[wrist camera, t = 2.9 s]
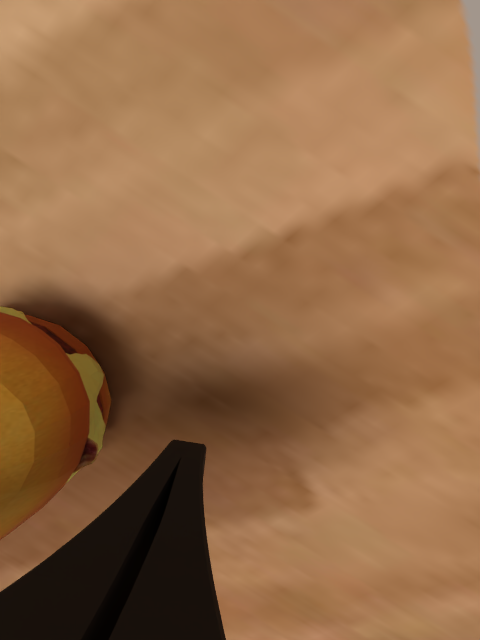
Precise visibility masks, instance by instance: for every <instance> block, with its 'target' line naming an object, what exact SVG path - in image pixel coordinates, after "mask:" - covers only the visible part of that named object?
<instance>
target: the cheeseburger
mask: <svg viewBox="0 0 480 640" xmlns="http://www.w3.org/2000/svg"><path fill="white" fill-rule="evenodd" d="M110 405H111V397H110V393H109V389H108V385H107V381H106V377H105V373H104V371H103V370H102V368H101V367H100V365H99V364H98V362H97V361H96V359H95V358H94V356H93V355H92V353H91V352H90V350H89V349H88V347H87V346H86V345H85V344H83V343H82V342H81V341H79V340H78V339H77V338H75V337H74V336H73V335H71V334H70V333H69V332H68V331H66V330H65V329H64V328H62V327H61V326H60V325H57V324H54V323H51V322H48V321H45V320H42V319H38V318H35V317H32V316H29V315H24V313H23V312H22V311H16V310H14V309H13V308H7V307H1V306H0V540H1V539H2V538H4V537H5V536H6V535H8V534H9V533H10V532H12V531H13V530H14V529H15V528H17V527H18V526H19V525H21V524H22V523H23V522H24V521H26V520H27V519H28V518H30V517H31V516H32V515H34V514H35V513H36V512H37V511H39V510H40V509H41V508H43V507H44V506H45V505H46V504H47V503H48V502H49V501H50V500H51V499H52V498H53V496H54V495H55V494H56V493H57V492H58V491H59V490H60V489H61V488H62V487H63V486H64V485H65V484H66V483H67V482H68V481H69V480H70V479H71V478H72V477H73V476H74V475H75V474H76V473H77V472H78V471H79V470H80V469H81V468H83V467H84V466H87V465H89V464H92V463H93V462H94V461H95V459H96V457H97V455H98V453H99V451H100V450H101V449H102V440H103V435H104V432H105V428H106V425H107V420H108V415H109V410H110Z"/></svg>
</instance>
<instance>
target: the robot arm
mask: <svg viewBox="0 0 480 640" xmlns="http://www.w3.org/2000/svg"><path fill="white" fill-rule="evenodd" d="M205 455H206V446H205V445H204V444H198V443H192V442H186V441H179V440H172V441H171V442H170V443H169V444H168V446H167V447H166V448H165V449H164V450H163V452H162V453H161V454H160V455H159V456H158V457H157V459H156V460H155V461H154V462H153V463H152V464H151V465H150V466H149V468H148V469H147V470H146V471H145V472H144V473H143V474H142V475H141V476H140V477H139V478H138V479H137V480H136V481H135V482H134V483H133V484H132V485H131V486H130V487H129V488H128V489H127V490H126V491H125V492H124V493H123V494H122V495H121V496H120V497H119V498H118V499H117V500H116V501H115V502H114V503H113V504H112V505H111V506H109V507H108V508H107V509H106V510H105V511H104V512H103V513H102V514H101V515H100V516H98V517H97V518H96V519H95V520H94V521H93V522H92V523H90V524H89V525H88V526H87V527H86V528H84V529H83V530H82V531H81V532H80V533H79V534H77V535H76V536H75V537H74V538H72V539H71V540H70V541H69V542H67V543H66V544H65V545H64V546H62V547H61V548H60V549H58V550H57V551H56V552H55V553H53V554H52V555H51V556H50V557H48V558H47V559H46V560H44V561H43V562H42V563H40V564H39V565H38V566H36V567H35V568H34V569H32V570H31V571H30V572H28V573H27V574H25V575H24V576H22V577H21V578H20V579H18V580H17V581H15V582H14V583H13V584H11V585H10V586H8V587H7V588H5V589H4V590H3V591H1V592H0V640H226V638H225V634H224V629H223V625H222V620H221V615H220V610H219V605H218V601H217V596H216V591H215V586H214V581H213V575H212V569H211V563H210V557H209V550H208V543H207V536H206V527H205V517H204V505H203V474H204V465H205Z"/></svg>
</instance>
